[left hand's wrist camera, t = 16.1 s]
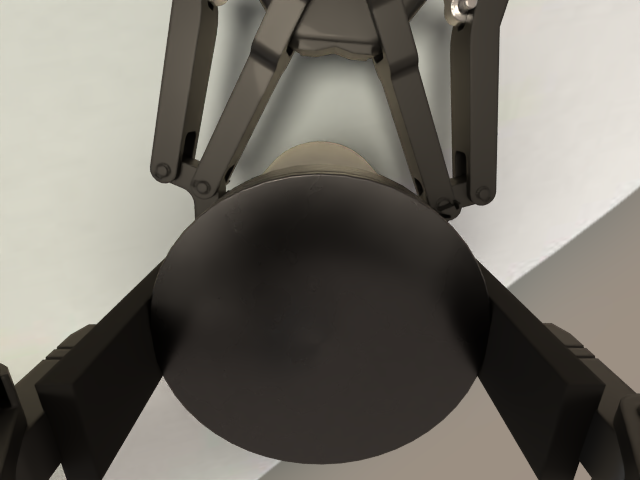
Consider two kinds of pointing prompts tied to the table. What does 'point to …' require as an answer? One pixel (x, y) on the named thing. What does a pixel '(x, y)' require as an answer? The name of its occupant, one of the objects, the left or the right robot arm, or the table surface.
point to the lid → (320, 316)
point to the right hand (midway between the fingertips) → (314, 313)
